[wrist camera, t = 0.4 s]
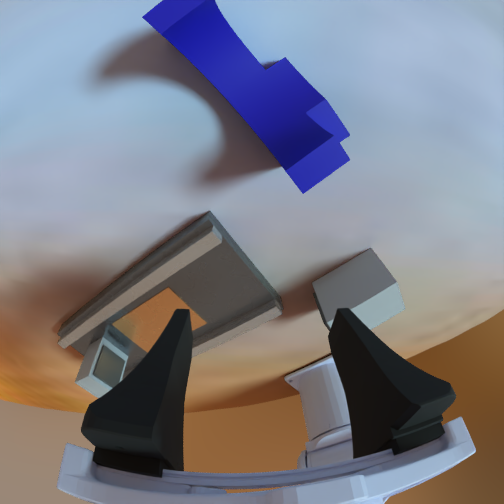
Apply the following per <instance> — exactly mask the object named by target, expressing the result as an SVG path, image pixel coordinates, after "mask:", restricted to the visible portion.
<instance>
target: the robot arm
mask: <svg viewBox="0 0 504 504" xmlns="http://www.w3.org/2000/svg"><path fill="white" fill-rule="evenodd" d="M328 339H329V344H330V349H331V353H332V355H330V356H328V357H326V358H324V359H322V360H320V361H318V362H316V363H314V364H311V365H309V366H307V367H305V368H303V369H300V370H298V371H296V372H294V373H291V374H289V375H287V376H285V377H284V379H285V381H286V382H287V383H289V384H290V385H291V386H292V387H294V388H295V389H296V390H297V391H299V392H300V397H301V402H302V407H303V412H304V417H305V422H306V427H307V432H308V437H309V442H306V443H305V444H306V449H307V450H304V451H302V452H301V454H300V456H299V458H298V462H297V469H296V470H286V471H277V472H262V473H232V474H231V473H230V474H229V473H198V472H185V471H184V466H183V465H184V463H183V421H184V401H185V393H186V387H187V381H188V376H189V370H190V364H191V358H192V346H193V334H192V326H191V317H190V309H176V310H175V311H174V313H173V315H172V317H171V319H170V320H169V322H168V324H167V326H166V327H165V329H164V330H163V332H162V333H161V335H160V336H159V338H158V339H157V341H156V342H155V344H154V345H153V346H152V348H151V349H150V350H149V352H148V353H147V354H146V355H145V357H144V358H143V359H142V360H141V361H140V363H139V364H138V365H137V366H136V367H135V368H134V369H133V370H132V371H131V372H130V373H129V374H128V375H127V376H126V377H125V378H124V379H123V380H122V381H121V382H119V383H118V384H117V385H116V386H115V387H113V388H112V389H111V390H110V391H108V392H107V393H106V394H104V395H103V396H101V397H100V398H98V399H97V400H95V401H94V402H92V403H91V404H89V407H88V409H87V411H86V413H85V416H84V420H83V423H82V427H81V432H82V434H83V435H84V436H85V437H86V438H87V439H88V440H89V441H90V442H91V443H92V444H93V445H94V446H95V451H94V452H93V451H90V450H88V449H86V448H82V447H79V446H76V445H72V444H69V443H67V444H66V446H65V450H64V454H63V459H62V463H61V467H60V473H59V477H58V482H57V488H58V489H59V490H62V491H64V492H66V493H68V494H70V495H72V496H75V497H77V498H80V499H82V500H85V501H88V502H91V503H94V504H384V503H385V502H386V500H387V499H388V498H389V497H390V496H392V495H394V494H397V493H400V492H402V491H405V490H407V489H409V488H412V487H414V486H416V485H418V484H420V483H423V482H425V481H427V480H429V479H431V478H433V477H435V476H437V475H439V474H440V473H443V472H445V471H446V470H448V469H450V468H452V467H453V466H455V465H456V464H458V463H460V462H461V461H463V460H464V459H466V458H467V457H469V456H470V455H472V454H473V453H475V452H476V449H475V447H474V444H473V442H472V440H471V437H470V435H469V432H468V430H467V428H466V426H465V423H464V421H463V419H462V417H459V418H457V419H455V420H452V421H450V422H448V423H446V424H445V425H443V426H442V424H441V421H443V417H442V415H441V414H442V413H443V412H444V411H445V410H446V409H447V408H448V407H449V406H450V405H451V404H452V403H453V402H454V400H455V398H456V394H455V392H454V390H453V388H452V387H451V385H450V383H448V382H446V381H444V380H441V379H439V378H436V377H434V376H432V375H430V374H428V373H426V372H424V371H422V370H420V369H419V368H417V367H415V366H414V365H412V364H411V363H409V362H408V361H406V360H405V359H403V358H402V357H401V356H399V355H398V354H397V353H395V352H394V351H393V350H392V349H390V348H389V347H388V346H387V345H386V344H385V343H383V342H382V341H381V340H380V339H379V338H378V337H377V336H376V335H375V334H374V333H373V332H372V331H371V330H370V329H369V328H368V327H367V326H366V325H365V324H364V323H363V322H362V321H361V320H360V319H359V318H358V317H357V316H356V315H355V314H354V313H353V312H352V311H351V310H350V309H349V308H337V311H336V314H335V317H334V320H333V323H332V326H331V329H330V332H329V335H328ZM298 484H301V485H298ZM291 485H295V486H291ZM282 486H289V487H283V488H278V489H273V490H266V491H258V492H246V493H229V494H227V492H226V491H225V490H222V489H256V488H271V487H282Z"/></svg>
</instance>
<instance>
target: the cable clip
mask: <svg viewBox="0 0 504 504" xmlns="http://www.w3.org/2000/svg"><path fill="white" fill-rule="evenodd" d="M142 18H143V19H145V20H146V21H147V22H148V23H149V24H150V25H151V26H152V27H153V28H155V29H156V30H157V31H158V32H159V33H160V34H161V35H162V36H163V37H165V38H166V39H167V40H168V41H169V42H170V43H171V44H172V45H174V46H175V47H176V48H177V49H178V50H179V51H180V52H181V53H182V54H183V55H184V56H185V57H186V58H187V59H188V60H189V61H190V62H191V63H192V64H193V65H194V66H195V67H196V68H197V69H198V70H199V71H200V72H201V73H202V74H203V75H204V76H205V77H206V78H207V79H208V80H209V81H210V82H211V83H212V84H213V85H214V86H215V87H216V88H217V90H218V91H219V92H220V93H221V94H222V95H223V96H224V97H225V98H226V99H227V100H228V102H229V103H230V104H231V105H232V106H233V107H234V108H235V109H236V111H237V112H238V113H239V114H240V115H241V116H242V117H243V119H244V120H245V121H246V122H247V123H248V124H249V126H250V127H251V128H252V129H253V130H254V132H255V133H256V134H257V135H258V136H259V138H260V139H261V140H262V141H263V143H264V144H265V145H266V146H267V148H268V149H269V150H270V151H271V153H272V154H273V155H274V156H275V158H276V159H277V160H278V162H279V163H280V164H281V166H282V167H283V168H284V170H285V171H286V172H287V174H288V175H289V176H290V178H291V179H292V180H293V181H294V183H295V184H296V185H297V187H298V188H299V189H300V191H301V192H302V193H303V194H304V193H305V192H306V191H308V190H309V189H311V188H312V187H313V186H315V185H316V184H317V183H319V182H320V181H322V180H323V179H324V178H326V177H327V176H328V175H330V174H331V173H333V172H334V171H335V170H337V169H338V168H340V167H341V166H342V165H344V164H345V163H346V162H348V161H349V160H350V159H349V157H348V155H347V154H346V152H345V151H344V149H343V147H342V146H341V144H340V142H341V141H342V140H344V139H345V138H347V137H348V136H350V134H349V133H348V131H347V129H346V128H345V126H344V125H343V123H342V122H341V120H340V119H339V117H338V116H337V114H336V113H335V111H334V110H333V109H332V107H331V106H330V104H329V103H328V101H327V100H326V99H325V98H324V97H323V96H322V95H321V94H320V93H319V92H318V91H317V90H316V89H314V88H313V87H312V86H311V85H310V84H309V83H308V82H307V80H306V79H305V78H304V77H303V76H302V75H301V74H300V73H299V72H298V71H297V70H296V69H295V68H294V67H293V65H292V64H291V63H290V62H289V61H288V60H287V59H286V57H285V58H283V59H282V60H280V61H279V62H277V63H276V64H274V65H273V66H271V67H270V68H268V69H267V70H265V69H264V68H263V66H262V65H261V64H260V63H259V62H258V61H257V59H256V58H255V57H254V56H253V55H252V53H251V52H250V51H249V50H248V49H247V47H246V46H245V45H244V44H243V42H242V41H241V40H240V39H239V37H238V36H237V35H236V33H235V32H234V31H233V29H232V28H231V27H230V25H229V24H228V22H227V21H226V20H225V18H224V17H223V15H222V13H221V12H220V10H219V8H218V6H217V4H216V2H215V0H163V1H162V2H160V3H159V4H158V5H156V6H155V7H154V8H153V9H151V10H150V11H149V12H148V13H147V14H145V15H144V16H143V17H142Z"/></svg>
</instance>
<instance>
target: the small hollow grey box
mask: <svg viewBox="0 0 504 504" xmlns="http://www.w3.org/2000/svg"><path fill="white" fill-rule="evenodd" d="M127 359H128V356H127V355H126V354H125V353H123V352H122V351H121V350H119V349H118V348H117V347H115V346H114V345H113V344H111V343H110V342H109V341H108V340H106V339H105V338H104V337H102V338H100V339H98V340H97V341H95V342H94V343H92V344H90V345H89V346H88V349H87V351H86V354H85V356H84V359H83V362H82V364H81V367H80V369H79V372H78V375H77V378H76V380H75V383H76V384H78V385H79V386H81V387H82V388H84V389H85V390H87V391H88V392H90V393H91V394H93V395H94V396H96V397H97V398H100V397H101V396H103V395H104V394H106V393H107V392H108V391H110V390H111V389H112V388H113V387H115V386H116V385H117V384H118V383H119V382H121V381H122V377H123V373H124V370H125V366H126V362H127Z"/></svg>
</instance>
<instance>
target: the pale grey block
mask: <svg viewBox="0 0 504 504" xmlns="http://www.w3.org/2000/svg"><path fill="white" fill-rule="evenodd" d="M312 285H313V287H314V290H315V293H313V295H314V298H315V300H316V303H317V306H318V309H319V311H320V314H321V317H322V320H323V322H324V324H325V326H326V327H327V328H328V330H329V331H330V329H331V326H332V323H333V320H334V317H335V314H336V311H337V308H349V309H350V310H351V311H352V312H353V313H354V314H355V315H356V316H357V317H358V318H359V319H360V320H361V321H362V322H363V323H364V324H365V325H366V326H367V327H368V328H369V329H370V330H371V329H373V328H374V327H376V326H378V325H380V324H381V323H383V322H385V321H386V320H388V319H390V318H391V317H393V316H395V315H396V314H398V313H400V312H401V311H403V310H404V309H405V306H404V303H403V299H402V296H401V293H400V290H399V287H398V284H397V281H396V280H395V279H394V277H393V276H392V275H391V273H390V272H389V271H388V269H387V268H386V267H385V265H384V264H383V263H382V261H381V260H380V259H379V257H378V256H377V255H376V254H375V252H374V251H373V250H372V248H370V249H368V250H366V251H365V252H363V253H361V254H360V255H358V256H356V257H355V258H353V259H352V260H350V261H348V262H346V263H345V264H343V265H341V266H340V267H338V268H336V269H335V270H333V271H331V272H330V273H328V274H326V275H324V276H323V277H321V278H319V279H317V280H316V281H314V282H312Z"/></svg>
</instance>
